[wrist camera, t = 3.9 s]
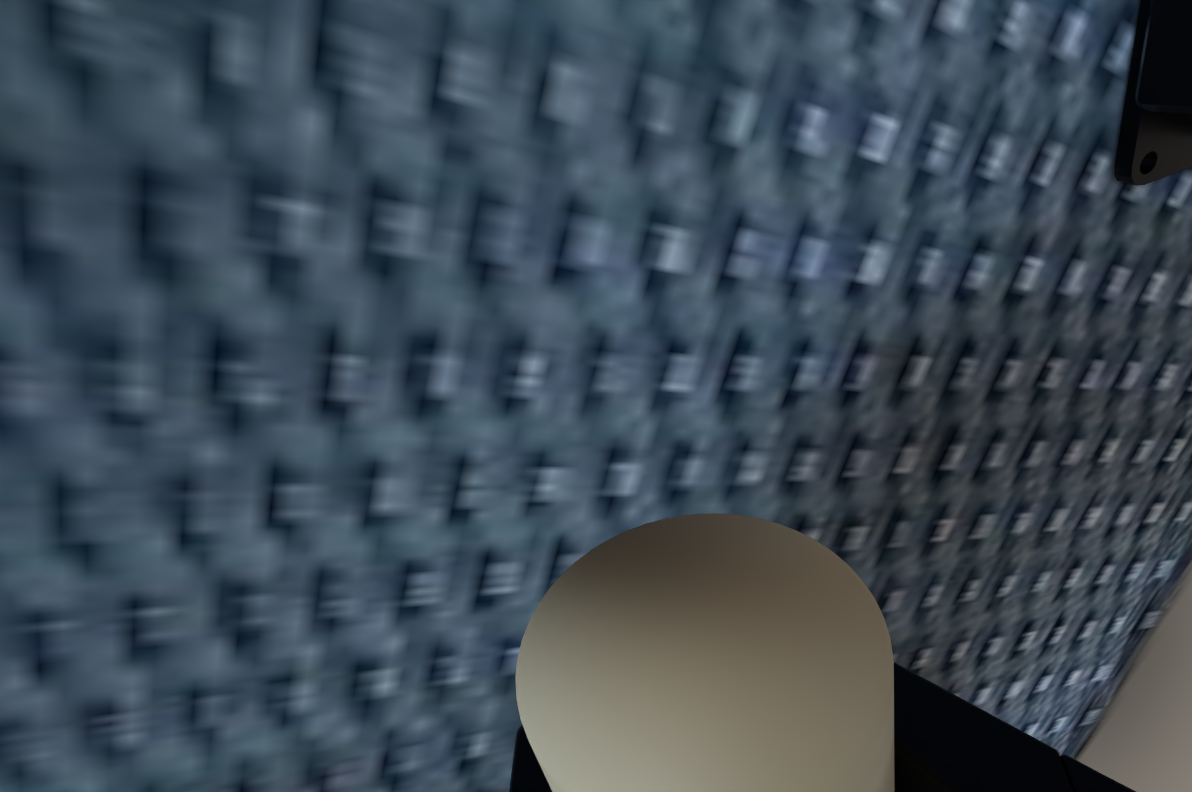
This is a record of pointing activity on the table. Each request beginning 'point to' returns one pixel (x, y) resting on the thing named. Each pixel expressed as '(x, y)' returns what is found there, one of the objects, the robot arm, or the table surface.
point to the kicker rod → (709, 665)
